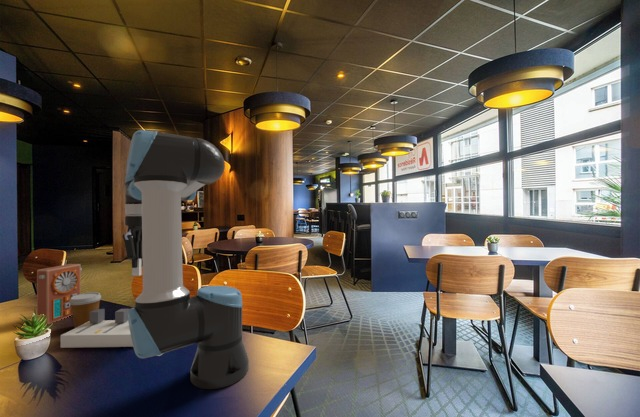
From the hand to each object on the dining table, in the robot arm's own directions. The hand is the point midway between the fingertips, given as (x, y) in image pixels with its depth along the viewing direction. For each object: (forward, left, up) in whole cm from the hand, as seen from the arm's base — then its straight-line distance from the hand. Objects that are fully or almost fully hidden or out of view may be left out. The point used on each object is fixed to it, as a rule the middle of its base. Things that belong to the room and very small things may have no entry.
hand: (136, 275), depth 107 cm
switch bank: (-11, 0, -19) cm, 22 cm away
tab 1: (-7, +9, -15) cm, 19 cm away
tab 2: (-7, 0, -15) cm, 17 cm away
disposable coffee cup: (-1, +18, -20) cm, 27 cm away
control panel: (+8, +36, -20) cm, 42 cm away
